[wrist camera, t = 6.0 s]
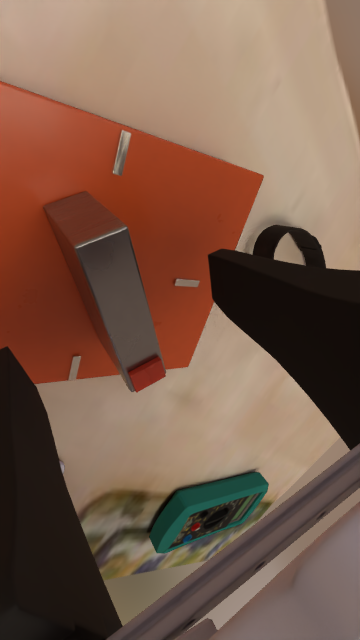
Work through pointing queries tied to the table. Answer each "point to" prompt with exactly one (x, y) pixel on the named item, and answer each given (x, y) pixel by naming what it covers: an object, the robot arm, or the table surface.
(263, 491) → the digital multimeter
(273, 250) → the watch
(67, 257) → the grey block with button
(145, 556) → the table surface
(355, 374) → the robot arm
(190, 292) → the orange block
